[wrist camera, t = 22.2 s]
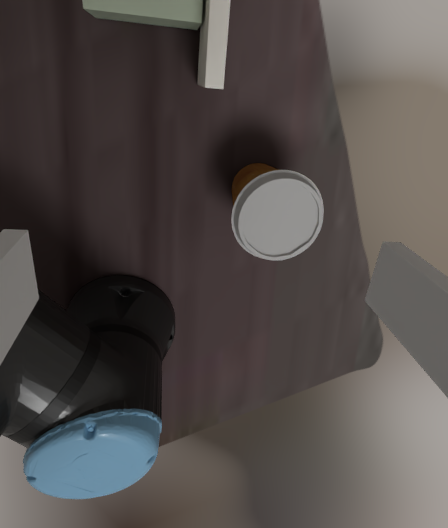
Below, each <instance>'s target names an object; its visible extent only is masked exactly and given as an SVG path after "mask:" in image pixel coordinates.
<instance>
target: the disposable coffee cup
mask: <svg viewBox="0 0 448 528" xmlns="http://www.w3.org/2000/svg"><path fill="white" fill-rule="evenodd" d="M232 198H233V209H232V216H231V221H232V229H233V232H234V235H235V238H236V239H237V241H238V242H239V244H240V245H241V246H242V247H243V248H244V249H245V250H246V251H247V252H249V253H251V254H252V255H254V256H257V257H260V258H263V259H267V260H284V259H288V258H291V257H294V256H296V255H298V254H300V253H302V252H303V251H304V250H306V249H307V248H308V247H309V246H310V245H311V244H312V243H313V242H314V240H315V239H316V237H317V236H318V234H319V231H320V229H321V226H322V222H323V212H324V210H323V200H322V197H321V194H320V192H319V190H318V188H317V187H316V185H315V184H314V183H313V182H312V181H311V180H310V179H308V178H307V177H306V176H304V175H302V174H300V173H298V172H294V171H290V170H279V169H276V168H274V167H271V166H268V165H266V164H262V163H253V164H250V165H247V166H245V167H244V168H242V169H241V170H240V171H239V172H238V173H237V175H236V176H235V178H234V180H233V183H232Z"/></svg>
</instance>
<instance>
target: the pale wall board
mask: <svg viewBox="0 0 448 528" xmlns="http://www.w3.org/2000/svg"><path fill="white" fill-rule="evenodd" d="M229 13H230V0H203V5H202V23H201V25H200V43H199V62H198V82H197V84H198V85H200V86H203V87H205V88H215V89H223V87H224V75H225V62H226V50H227V37H228V25H229Z"/></svg>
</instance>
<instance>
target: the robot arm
mask: <svg viewBox="0 0 448 528" xmlns="http://www.w3.org/2000/svg"><path fill="white" fill-rule="evenodd" d="M365 301H366V303H367V304H368V305H369V306H370V307H371V308H372V310H373V311H374V312H375V313H376V314H377V316H378V317H379V318H380V319H381V320H382V321H383V322H384V323H385V325H386V326H387V327H388V328H389V329H390V331H391V332H392V333H393V334H394V335H395V337H396V338H397V339H398V340H399V341H400V342H401V343H402V345H403V346H404V347H405V348H406V349H407V351H408V352H409V353H410V354H411V355H412V356H413V358H414V359H415V360H416V361H417V362H418V364H419V365H420V366H421V367H422V368H423V369H424V371H426V373H427V374H428V375H429V376H430V378H431V379H432V380H433V381H434V382H435V383H436V384H437V386H438V387H439V388H440V389H441V390H442V392H443V393H444V394H445V395H446V396H447V397H448V277H447V276H446V275H444V274H443V273H442V272H440V271H439V270H437V269H436V268H435V267H433V266H432V265H431V264H429V263H428V262H427V261H425V260H424V259H422V258H421V257H420V256H418V255H417V254H416V253H414V252H413V251H412V250H410V249H409V248H408V247H406V246H405V245H404V244H402V243H401V242H383V243H382V246H381V250H380V253H379V256H378V259H377V262H376V266H375V269H374V272H373V275H372V278H371V282H370V285H369V288H368V291H367V295H366V298H365ZM174 334H175V313H174V309H173V307H172V304H171V302H170V301H169V299H168V298H167V296H166V295H165V294H164V293H163V292H162V291H161V290H160V289H159V288H157V287H156V286H154V285H153V284H151V283H149V282H147V281H145V280H142V279H139V278H136V277H131V276H108V277H103V278H100V279H97V280H94V281H92V282H90V283H88V284H87V285H85V286H84V287H82V288H81V289H80V290H79V291H78V292H77V293H76V294H75V295H74V297H73V298H72V300H71V302H70V304H69V306H68V309H67V311H66V310H65V309H63V308H62V307H60V306H59V305H58V304H57V303H55V302H54V301H53V300H51V299H50V298H49V297H48V296H46V295H45V294H44V293H42V292H41V291H40V290H39V289H38V288H37V282H36V276H35V270H34V264H33V257H32V251H31V245H30V239H29V233H28V230H14V229H3V230H2V231H1V232H0V436H1V435H3V436H6V437H8V438H10V439H11V440H13V441H15V442H17V443H19V444H21V445H23V446H25V447H26V448H27V451H26V453H25V455H24V459H23V463H24V473H25V475H26V476H27V481H28V482H29V484H30V485H31V486H32V487H34V488H35V489H37V490H38V491H40V492H42V493H44V494H47V495H50V496H54V497H59V498H65V499H88V498H94V497H100V496H105V495H108V494H112V493H115V492H118V491H120V490H123V489H125V488H127V487H129V486H130V485H132V484H134V483H135V482H137V481H138V480H139V479H141V477H143V476H144V475H145V474H146V473H147V472H148V471H149V470H150V468H151V467H152V465H153V463H154V461H155V459H156V456H157V453H158V445H159V436H160V432H161V428H162V421H161V398H162V361H163V359H164V357H165V356H166V354H167V352H168V349H169V348H170V346H171V344H172V341H173V338H174Z"/></svg>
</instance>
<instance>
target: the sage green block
mask: <svg viewBox="0 0 448 528" xmlns="http://www.w3.org/2000/svg"><path fill="white" fill-rule="evenodd" d="M202 5H203V0H83V9H84V10H86V11H87V12H88V13H90V14H91V15H93V16H94V17H95V18H100V19H109V20H117V21H125V22H134V23H142V24H150V25H159V26H167V27H175V28H184V29H192V30H198V28H199V26H200V25H201V23H202Z"/></svg>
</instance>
